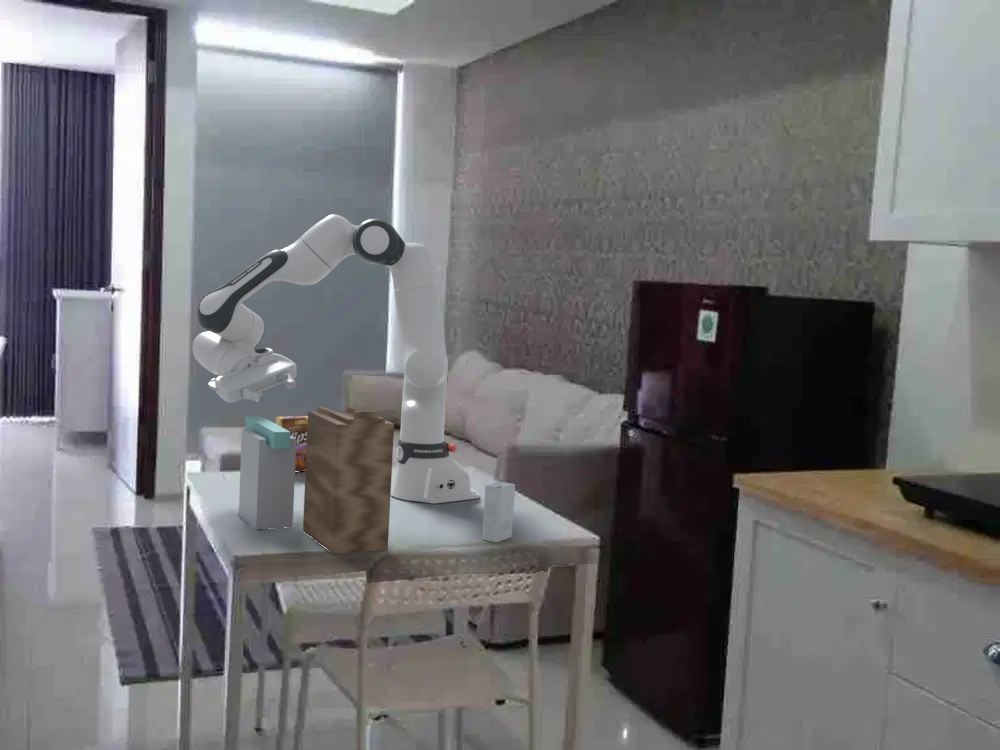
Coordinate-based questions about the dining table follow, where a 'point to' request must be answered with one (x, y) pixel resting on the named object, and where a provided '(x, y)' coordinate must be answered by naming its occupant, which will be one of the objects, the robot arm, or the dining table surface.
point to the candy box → (296, 436)
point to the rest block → (266, 482)
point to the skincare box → (498, 511)
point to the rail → (269, 431)
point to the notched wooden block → (348, 479)
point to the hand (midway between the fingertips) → (277, 391)
